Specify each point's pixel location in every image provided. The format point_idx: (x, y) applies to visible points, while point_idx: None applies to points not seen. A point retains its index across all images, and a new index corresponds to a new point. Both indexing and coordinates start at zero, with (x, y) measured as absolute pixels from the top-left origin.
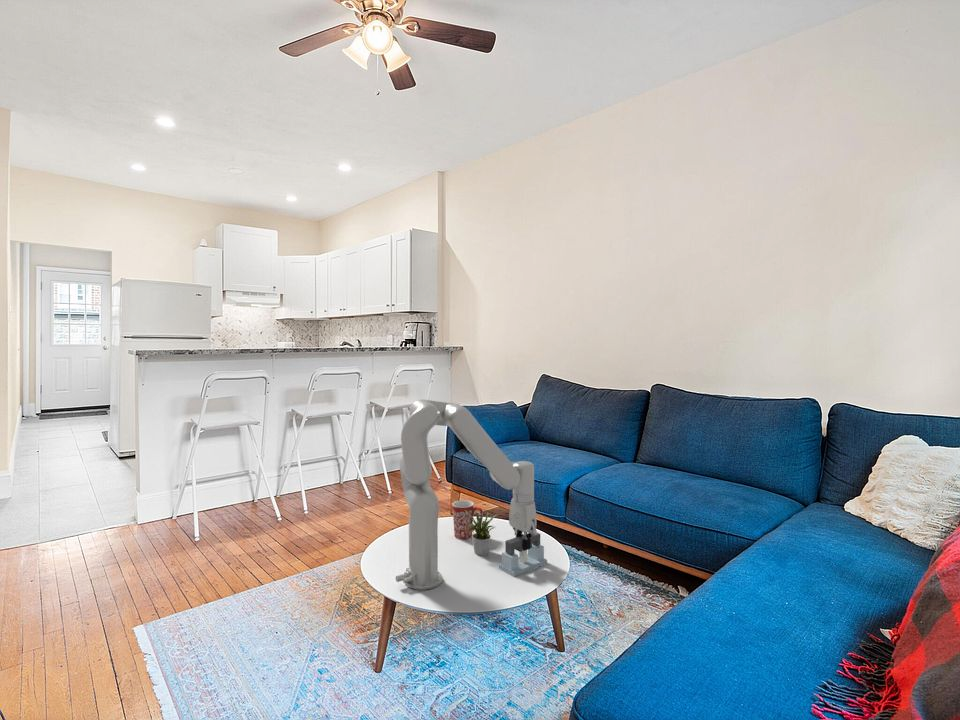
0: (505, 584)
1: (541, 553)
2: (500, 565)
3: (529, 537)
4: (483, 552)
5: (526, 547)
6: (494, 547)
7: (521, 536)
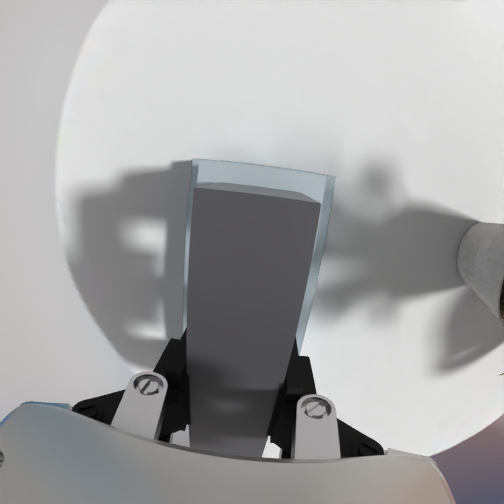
0: (175, 76)
1: None
2: (317, 173)
3: (104, 399)
4: (469, 241)
5: (175, 339)
6: (455, 327)
7: (259, 414)
